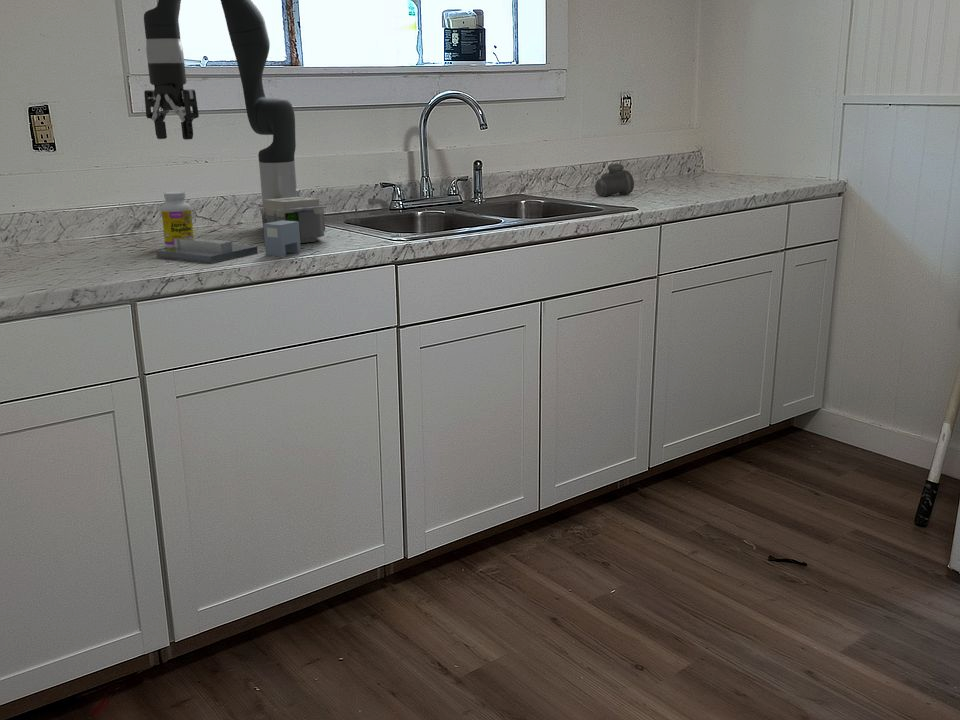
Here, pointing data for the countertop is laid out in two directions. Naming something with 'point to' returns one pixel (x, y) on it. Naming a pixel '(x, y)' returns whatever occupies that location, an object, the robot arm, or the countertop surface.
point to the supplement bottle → (176, 218)
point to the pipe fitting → (615, 182)
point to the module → (282, 237)
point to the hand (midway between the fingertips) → (174, 139)
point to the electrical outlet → (297, 215)
